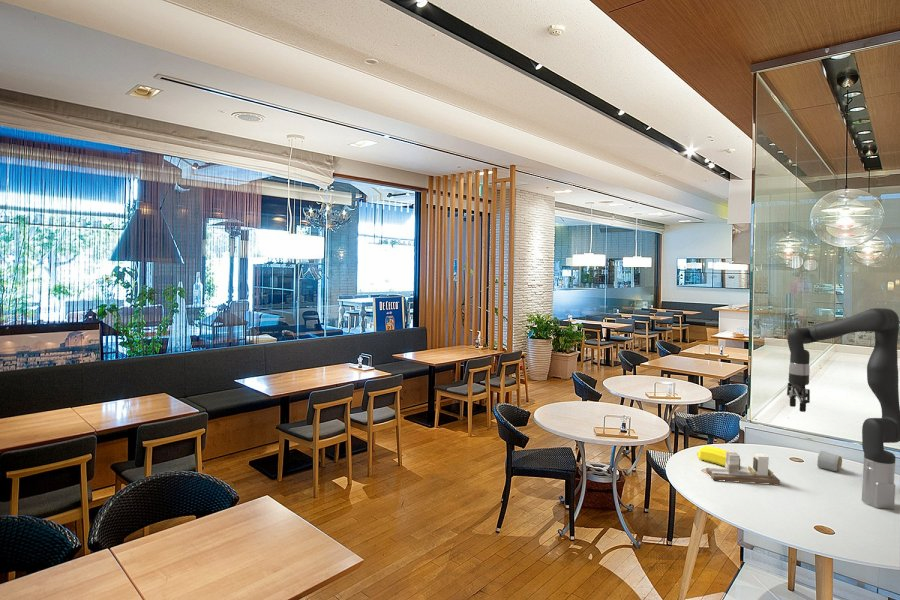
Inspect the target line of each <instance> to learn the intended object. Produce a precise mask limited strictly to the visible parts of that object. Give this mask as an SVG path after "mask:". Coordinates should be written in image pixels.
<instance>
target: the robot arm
mask: <svg viewBox="0 0 900 600" xmlns="http://www.w3.org/2000/svg"><path fill="white" fill-rule="evenodd" d="M899 329H900V319H899V316H898V313H896V311H895V310H893V309H891V308H883V307H882V308H881V307H880V308H879V307H877V308H876V307H875V308H874V307H873V308H869V309H866V310H864V311H862V312H859V313H856V314H853V315H851V316H848V317H846V318H845V317H844V318H842V319H841V318H840V319H837V320H836V319H835V320H830V321H825V322H820V323H817V324H814V325H812V326H807V327H797V328H794V327H793V328H792V329H790V330H789V331H788V333H787V337H786V338H787V344H788V349H789V352H790V359H789V367H788V382H787V389H786V390H787V391H786V396H788V398H789V407H793V408H795V407H796V406H797V404H796V403H797V399H798V400H799V412H801V413H802V412H803V413H806V411H807V404H810V393H811V390H810V389H809V388H806V386H808V385H809V384H810V369H811V368H810V357H811V356H810V352H809V350H807V349H805V347H804V346H805V345H807V344H808V345H809V344H812V343H816V342H819V341H826V340H831V339H836V338H839V337H843V336H844V335H848V334H851V333H861V332H862V333H863V332H867V333H868V332H873V333H874V347H873V349H872V351H871V355H870V356H869V358H868V361H867V365H866V380H867V384H868V387H869V388H870V390H871V392H872V393H873V394H874V396H875V397H876V398H877V400H878V403H879V405H880V409H881V417H868V418H866V419H865V420H864V421H863V423H862V427H861V435H862V436H861V438H862V439H861V440H862V442H861V444H862V445H861V446H862V447H861V448H862V451H863V468H862V469H863V470H862V483H861V484H862V485H861V487H862V488H861V501H862V502H864V503H865V504H867V505H868V506H872V507H874V508H877V509H889V510H894V509H895V499H896V498H895V497H896V484H895V473H896V459H897V458H896V455H895V454H894V453H893V452H890V451H889V450H886V449H884V448H885V446H884V444H891V443H892V444H893V443H894V444H896V443H899V442H900V396H899V395H900V394H899V393H900V392H899V381H900V379H899V366H898V364H899V363H898V361H899V359H898V355H899V354H898V341H899V340H898V338H899V332H900V331H899ZM804 344H805V345H804Z"/></svg>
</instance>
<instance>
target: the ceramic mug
mask: <svg viewBox="0 0 900 600" xmlns="http://www.w3.org/2000/svg"><path fill="white" fill-rule="evenodd" d="M816 465H817V467H818V468H820V469H825V470H829V471H833V472H840V471H841V469H842V465H843V457H842V456H840V455H839V454H836V453H831V452H828V451H825V450H821V449H820V450H819V453H818V455H817V462H816Z"/></svg>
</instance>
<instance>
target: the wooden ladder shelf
mask: <svg viewBox="0 0 900 600" xmlns="http://www.w3.org/2000/svg"><path fill="white" fill-rule="evenodd" d="M706 472H707V473H708V474H709V475H710V476H711V477H710V476H709V475H708V474H707V473H706ZM705 473H706V474H707V475H708V476H709V477H710V479H711V480H712V479H713V480H725V481H724V482H727V481H739V482H738V483H743V482H755V483H754V484H759V483H769V484H768V485H775V484H778V485H781V484H780V483H781V482H780V481H781V480H780V478H778V477H777V475H775V474H774V472H773V471H772V470H771V469H769V468H768V476H765V475H757V474H756V471H754V469H753V467H751V466H750V465H748V466H747V469H746V470H745V469H741V458H740V454H738V453H737V452H735V451H729V452H726V467H725V468H713V467H712V468H711V467H706V468H705ZM713 480H712V481H713Z"/></svg>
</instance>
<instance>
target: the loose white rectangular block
mask: <svg viewBox="0 0 900 600" xmlns="http://www.w3.org/2000/svg"><path fill="white" fill-rule="evenodd" d="M752 461H753V462H752V465H753V466H752V469H753V470H754V471H756V474H757V475H765V476H768V469H769V456H768V455H767V454H765V453H757V452H756V453H754V455H753V459H752Z"/></svg>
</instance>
